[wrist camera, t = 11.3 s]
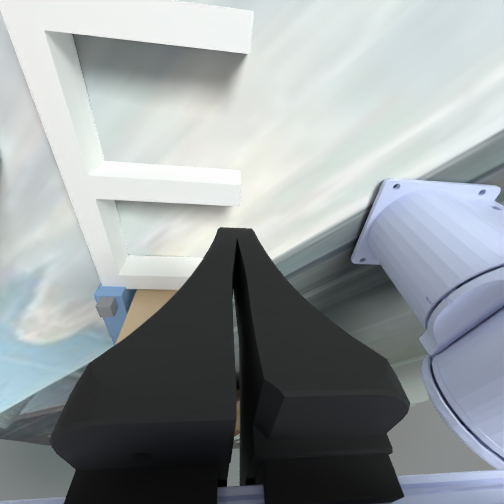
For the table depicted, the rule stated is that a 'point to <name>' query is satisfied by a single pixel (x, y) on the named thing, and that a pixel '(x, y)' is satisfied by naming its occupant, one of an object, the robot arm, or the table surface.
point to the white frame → (86, 137)
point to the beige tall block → (143, 308)
